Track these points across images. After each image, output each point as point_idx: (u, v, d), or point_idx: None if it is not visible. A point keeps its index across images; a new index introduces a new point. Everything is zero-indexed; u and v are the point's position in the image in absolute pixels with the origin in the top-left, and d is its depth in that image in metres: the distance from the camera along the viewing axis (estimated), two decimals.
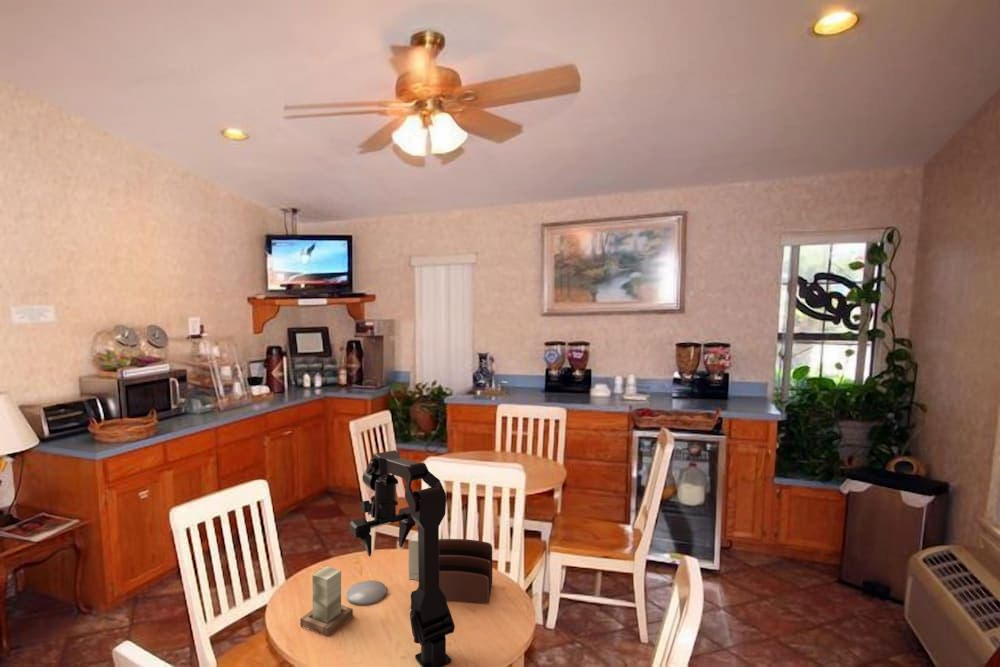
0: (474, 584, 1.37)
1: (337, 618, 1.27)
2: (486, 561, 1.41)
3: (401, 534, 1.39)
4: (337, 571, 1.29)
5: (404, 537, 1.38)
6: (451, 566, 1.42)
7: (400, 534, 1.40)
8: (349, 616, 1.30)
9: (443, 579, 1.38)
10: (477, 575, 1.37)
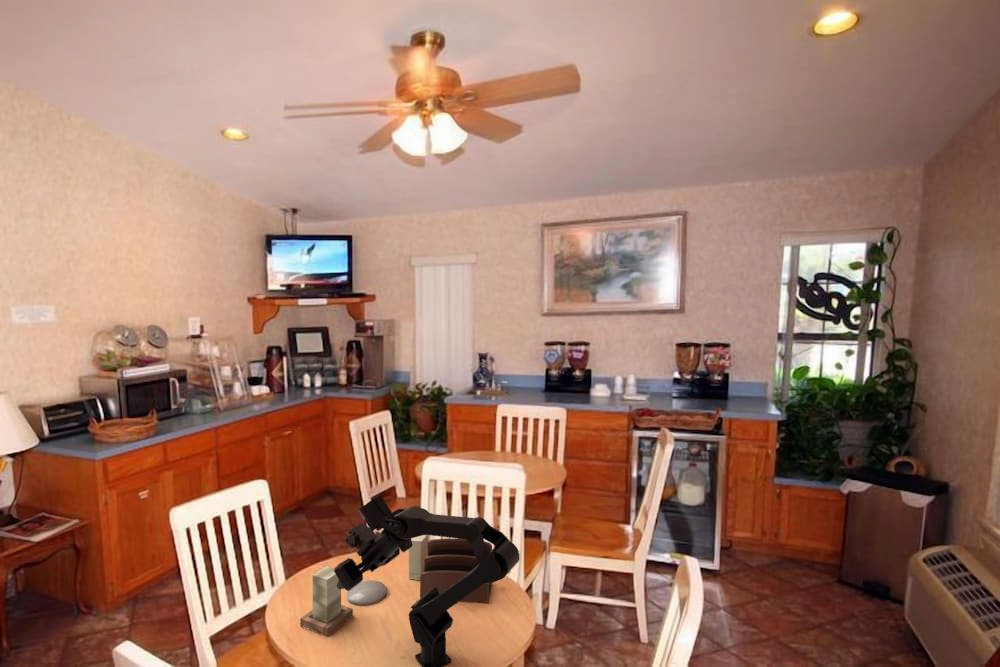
0: None
1: (337, 618, 1.27)
2: None
3: None
4: None
5: None
6: (451, 566, 1.43)
7: None
8: (349, 616, 1.30)
9: (443, 578, 1.38)
10: None
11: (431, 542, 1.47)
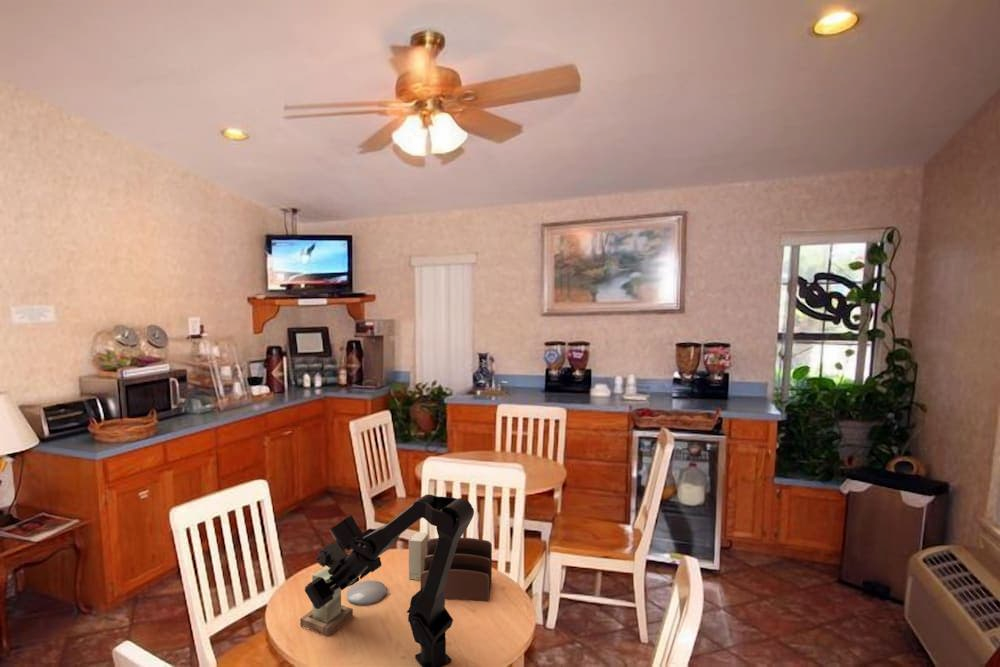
0: (474, 582, 1.38)
1: (337, 618, 1.27)
2: (486, 559, 1.42)
3: None
4: None
5: None
6: (451, 564, 1.43)
7: None
8: (349, 616, 1.30)
9: None
10: (477, 573, 1.38)
11: (431, 541, 1.48)
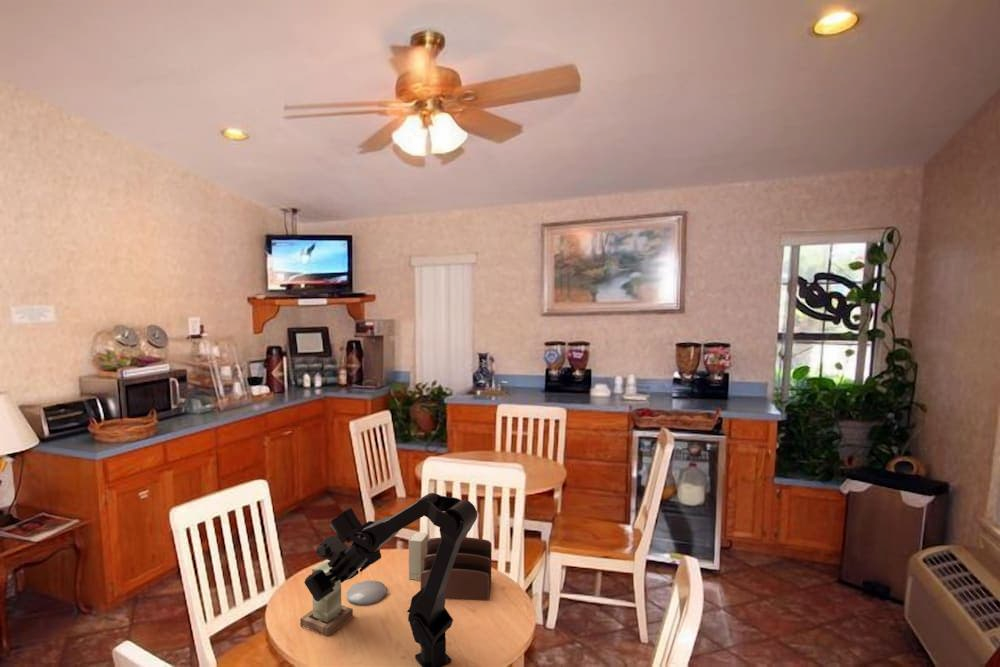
0: (475, 581, 1.39)
1: (337, 618, 1.27)
2: (486, 558, 1.43)
3: None
4: None
5: None
6: None
7: None
8: (349, 616, 1.30)
9: None
10: (477, 572, 1.39)
11: (430, 541, 1.48)
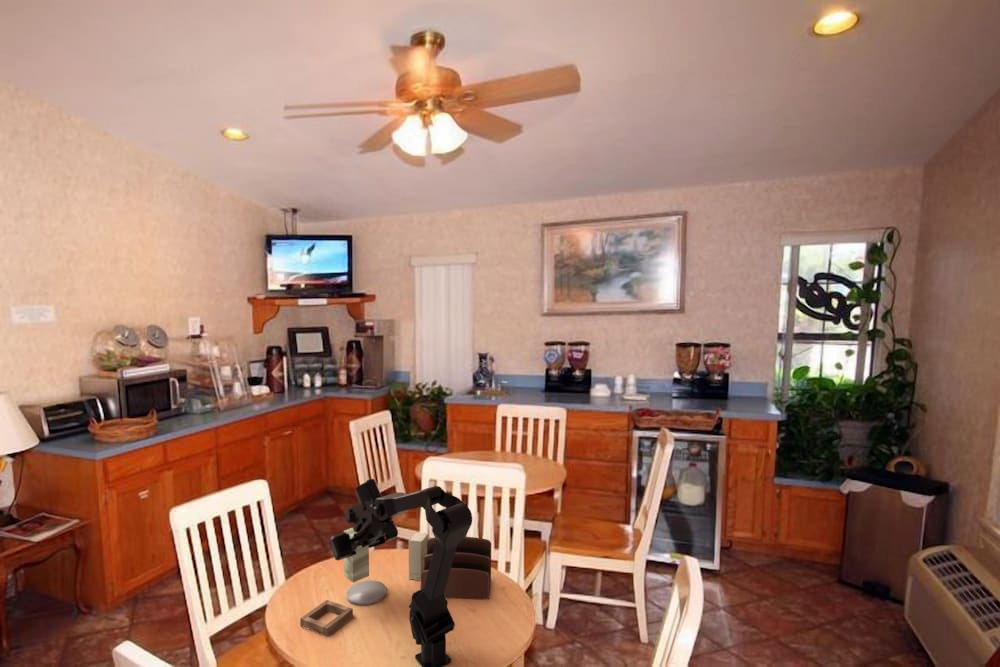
0: (475, 580, 1.39)
1: (337, 618, 1.27)
2: (486, 557, 1.43)
3: None
4: None
5: (370, 547, 1.39)
6: None
7: None
8: (349, 616, 1.30)
9: None
10: (478, 571, 1.39)
11: (430, 540, 1.48)
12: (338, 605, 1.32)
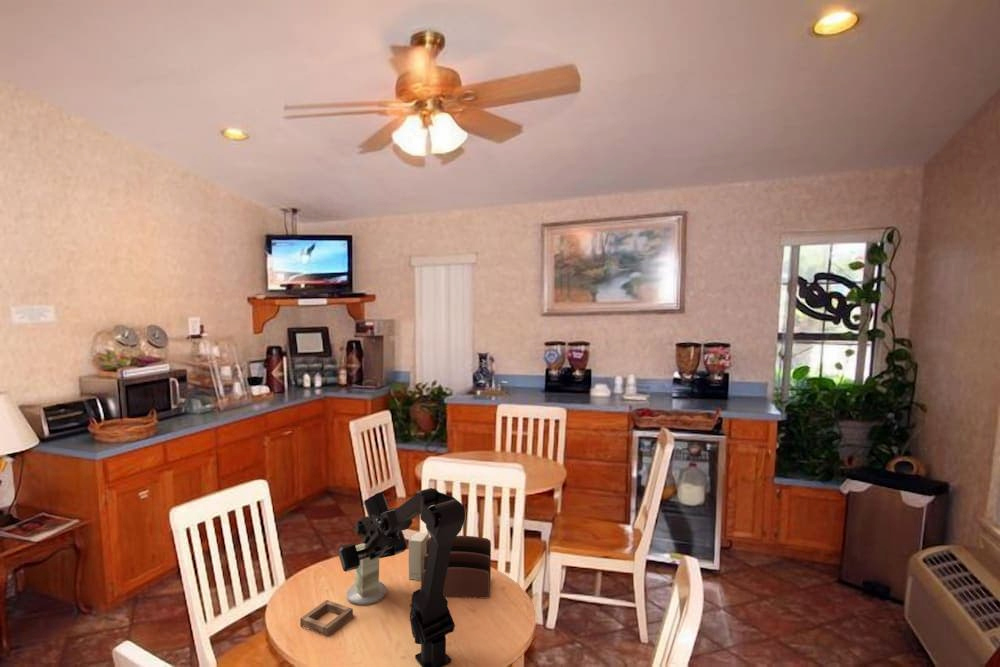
0: (475, 579, 1.40)
1: (337, 618, 1.27)
2: (486, 556, 1.44)
3: None
4: None
5: (386, 556, 1.42)
6: (451, 562, 1.44)
7: None
8: (349, 616, 1.30)
9: None
10: (478, 570, 1.40)
11: None
12: (338, 605, 1.32)
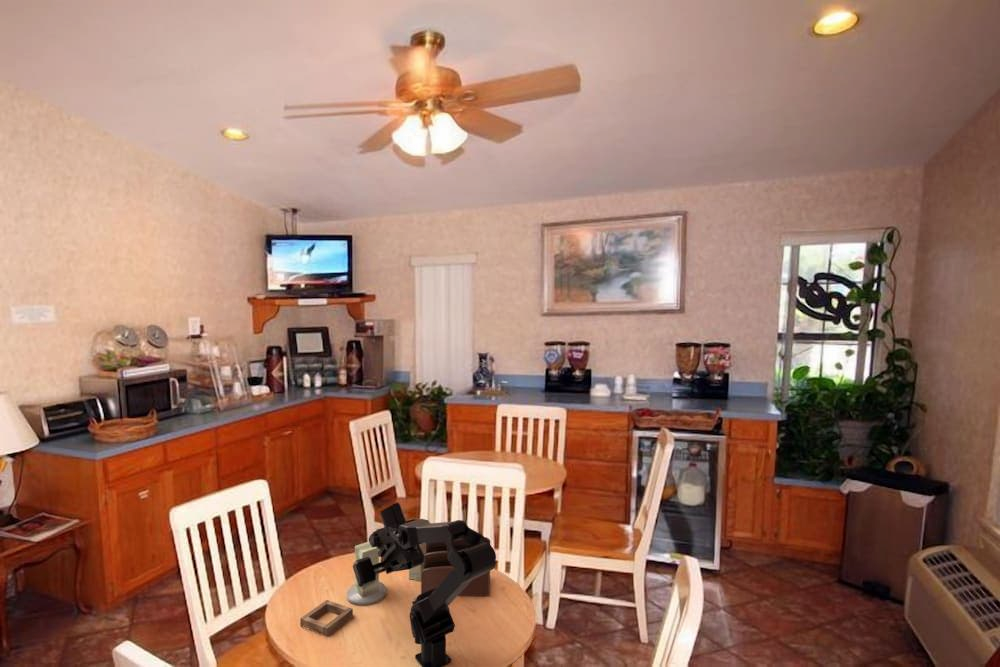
0: (475, 578, 1.41)
1: (337, 618, 1.27)
2: None
3: None
4: (375, 547, 1.40)
5: None
6: None
7: None
8: (349, 616, 1.30)
9: (444, 574, 1.41)
10: None
11: None
12: (338, 605, 1.32)
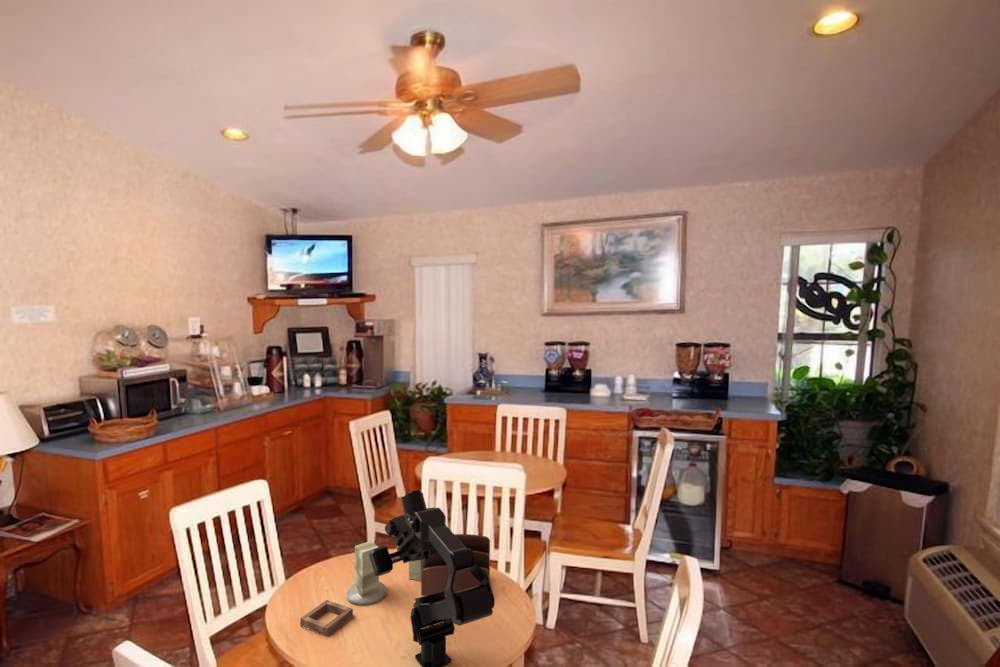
0: None
1: (337, 618, 1.27)
2: (485, 554, 1.45)
3: None
4: (375, 547, 1.40)
5: None
6: None
7: None
8: (349, 616, 1.30)
9: (444, 573, 1.41)
10: None
11: None
12: (338, 605, 1.32)
